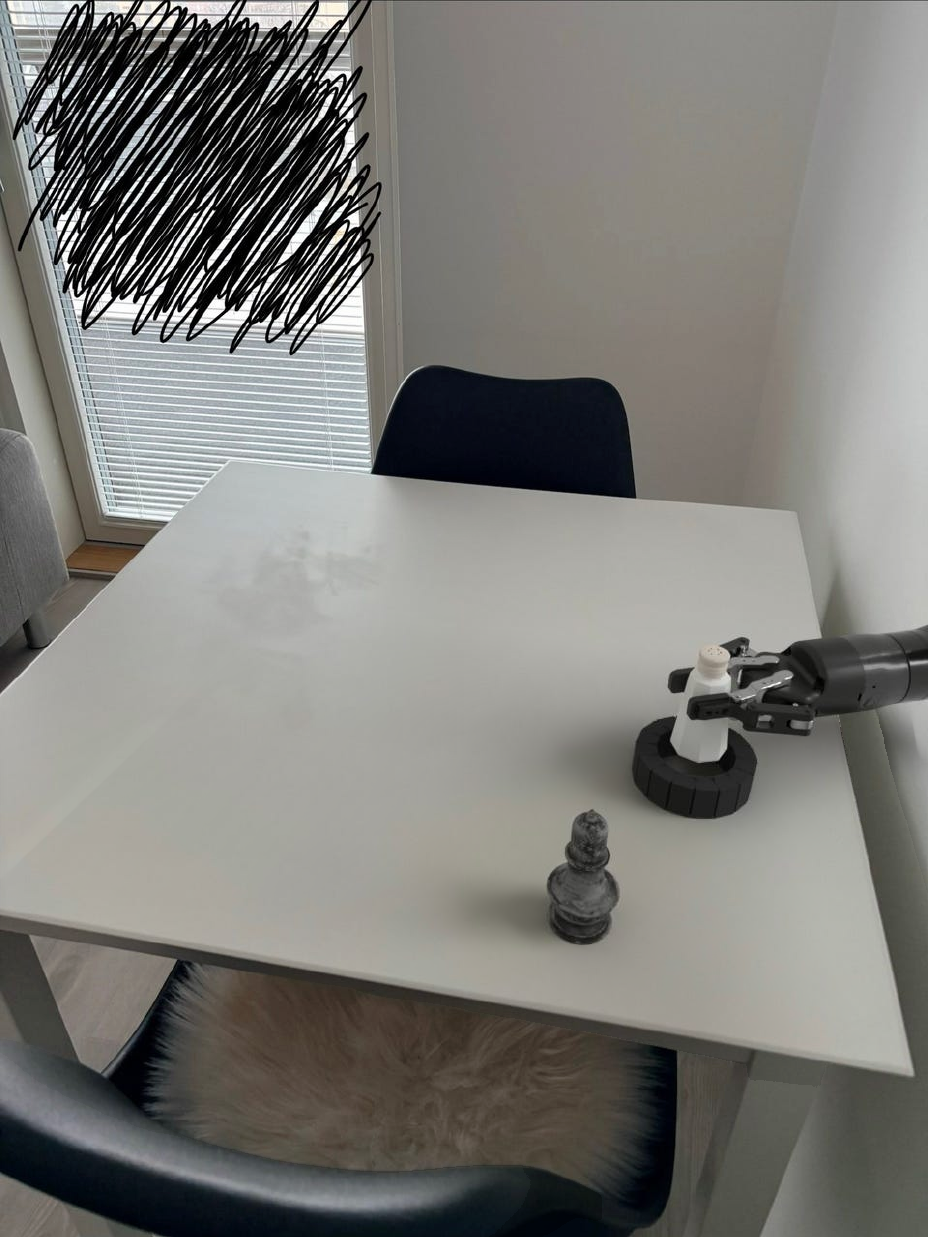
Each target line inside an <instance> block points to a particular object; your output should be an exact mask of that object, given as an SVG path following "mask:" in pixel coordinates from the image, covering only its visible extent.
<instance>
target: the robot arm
mask: <svg viewBox="0 0 928 1237" xmlns="http://www.w3.org/2000/svg"><path fill="white" fill-rule="evenodd" d="M750 643H751V640H750V639H749V638H747V637H745V636H740V637H736V638H734V639H732V640H729V641H726V642H725V643H722V644H719V645H718V646H719V647H722V648H724V649H726V650H727V651H728V652H729V654H730V659H729V661H728V667H727V670H726V672H727V673H728V675H729V676H730V677H731V692H730V696H729V695H728V694H727V693H726V692H725V693H717V694H710V695H702V696H694V697H691V698H690V699H689V701H688V706H687V712H686V714H687V715H688V717H689V718H690V719H691V720H711V719H719V718H726V717H728V718H729V721H734V722H737V721H739V722H740V723H742V729H743V731H746V732H751V733H761V734H762V733H763V734H773V735H786V736H796V737H809V736H810V735H811V732H812V729H813V726H814V721H815V719H818V718H824V717H831V716H839V715H845V714H852V713H859V712H860V713H861V712H866V711H872V710H877V709H881V708H884V707H887V706H891V705H899V704H906V703H912V702H921V701H927V700H928V624H926V625H923V626H920V627H917V628H913V629H908V630H907V629H906V630H898V631H891V632H890V631H889V632H883V633H882V632H881V633H853V634H845V635H836V636H827V637H819V638H812V639H803V640H798V641H797V640H796V641H795V642H792V643H791V644H790V645H789V646H788V647H786V648H785V649H784V650H782V651H781V652H773V651H760V652H758V651H756V650H754V649H753V648H751V647H750ZM695 667H696V666H694V667H693V666H692V667H687V668H686V667H684V668H676V669H675V670H672V671H671V672H669V675H668V679H667V685H666V686H667V689H668V690H669V691H670V693H671V694H681V693H683V694H684V692H685V688H686V685H687V681H688V678H689V675H690V673H691V672H692V670H693V669H694V668H695ZM739 675H740V677H739ZM738 680H739V681H738ZM764 716H769V717H771V718H770V720H760V719H759V718H761V717H764Z"/></svg>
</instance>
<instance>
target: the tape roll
mask: <svg viewBox="0 0 928 1237" xmlns="http://www.w3.org/2000/svg"><path fill="white" fill-rule="evenodd" d="M677 715H678V714H677ZM677 715H671V716H665V717H662V718H657V719H656V720H655V719H654V720H653V721H652V722H650V723H648V724H647V725H646V726H644V727H642V728H641V730H640V732H639V733H638V735H637V737H636V740H635V745H634V752H633V759H632V765H631V771H632V777H633V783H634V784H635V786H636V787H637V789H638V790H639V791H640V792H641V794H642V795H643V796H644V797H645V798H647V800H649V801H650V802H652V803H653V804H654V805H656V806H658V807H659V808H661V809H663V810H666V811H667V812H670V813H672V814H676V815H679V816H683V817H685V818H690V819H704V820H705V819H706V820H713V819H719V818H722V817H727V816H729V815H730V816H731V815H733V814H734V813H736V812H738V811H739V810H740V809H741V808H742V807H744V806H745V805H746V804H747V803H748V801H749V799H750V795H751V792H752V787H753V784H754V779H755V775H756V771H757V766H758V759H757V755H756V752H755V750H754V748H753V747H752V744H751V743H750V742H749V741H748V740H746V738H745V737H743V735H742V734H741V733H738V731H736V730H735V729H733V728H731V727H729V726H728V738H727V749H726V751H725V752H724V753H723V755H722V756H721V758H720V759H719V760H718V761H712V762H711V763H713V764H715V765H717V766H718V767H719V768H720V770H722V771H723V772H724V773H721V774H716V775H713V776H704V775H702V776H701V775H693V774H689V773H686V772H684V771H683V772H682V771H679V770H677V769H676V768H674V767H672V766H671V765H669V764H668V763H666V761H665V760H664V758H665V757H669V756H673V755H678V754H677V752H676V750H675V749H674V747H673V745H672V743H671V742H670V739H671V736H672V732H673V729H674V725H675V722H676V719H677Z"/></svg>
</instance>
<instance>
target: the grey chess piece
mask: <svg viewBox="0 0 928 1237" xmlns="http://www.w3.org/2000/svg"><path fill="white" fill-rule="evenodd" d="M609 830H610V827H609V823H608V821H607V819H606V818H605V817H604V816H602V815H601V814H600V813H598V812H597V811H596V810H595V809H594V808H591V809H590V810H588V811H583V812H582V813H579V814H578V815H577V816H576V817H575V818H574V819H573V822H572V824H571V834H570V841H569V842H568V843H566V845H565V848H564V857H565V859H566V861H567V862H563V863H561V864H560V865H557V866H556V867H555V868H554V869H552V871H551V872H550V873H549V875H548V877H547V880H546V891H547V895H548V897H549V899H550V901H551V903H550V905H549V907H548V909H547V919H548V920H547V922H548V925H549V927H550V928H551V930H552V931H553V932H554V933H555V934H556V935H557V936H558V937H559V938H561V939H563V940H564V941H566V942H569V943H571V944H576V945H591V944H595V943H598V942H600V941H601V940H603V939H605V938H606V937H607V935H608V934H609V933H610V931H611V928H612V923H613V918H612V914H611V912H612V911H613V910H614V908H616V906H617V905H618V902H619V900H620V896H621V895H620V892H621V889H620V886H619V882H618V881H617V879H616V877H615V876H614V875H613V874H612V873H611V872H610V871H609V870H608V869H607V868H606V867H607V866H608V865H609V863H610V860H611V852H610V850H609V848H608V839H609Z"/></svg>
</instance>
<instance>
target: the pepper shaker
mask: <svg viewBox="0 0 928 1237" xmlns="http://www.w3.org/2000/svg"><path fill="white" fill-rule="evenodd" d="M729 659H730V654H729V652H728V651H727V650H726V649H724V648H722V647H719V645H714V644H713V645H712V644H707V645H704V646H702V647H701V648H700V649H699V650H698V659H697V665H696V666H694V667H695V668H694V669H693V670H692V672H691V673H690V675H689V678H688V681H687V685H686V688H685V692H683V695H682V698H681V702H680V705H679V708H678V712H677V719H676V722H675V725H674V729H673V732H672V736H671V739H670V742H671V743H672V745H673V747H674V749H675V750H676V752H677V754H676V755H677V756H679V757H682V758H685V759H686V760H689V761H691V762H694V763H697V764H702V763H710V762H711V763H713V762H712V761H718V760H719V759H720V758H721V756H722V755H723V753H724V752H725V751H726V749H727V738H728V727H729V724H730V723H729V722H730V719H729V718H728V717H726V718H719V719H711V720H691V719H690V718H689V717H688V715H687V714H686V712H687V706H688V701H689V699H690V698H691V697H694V696H702V695H710V694H717V693H725V692H726V693H727V694H728V695H729V696H731V693H730V692H731V677H730V676H729V675H728V673H727V672H726V670H727V667H728V661H729Z"/></svg>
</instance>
